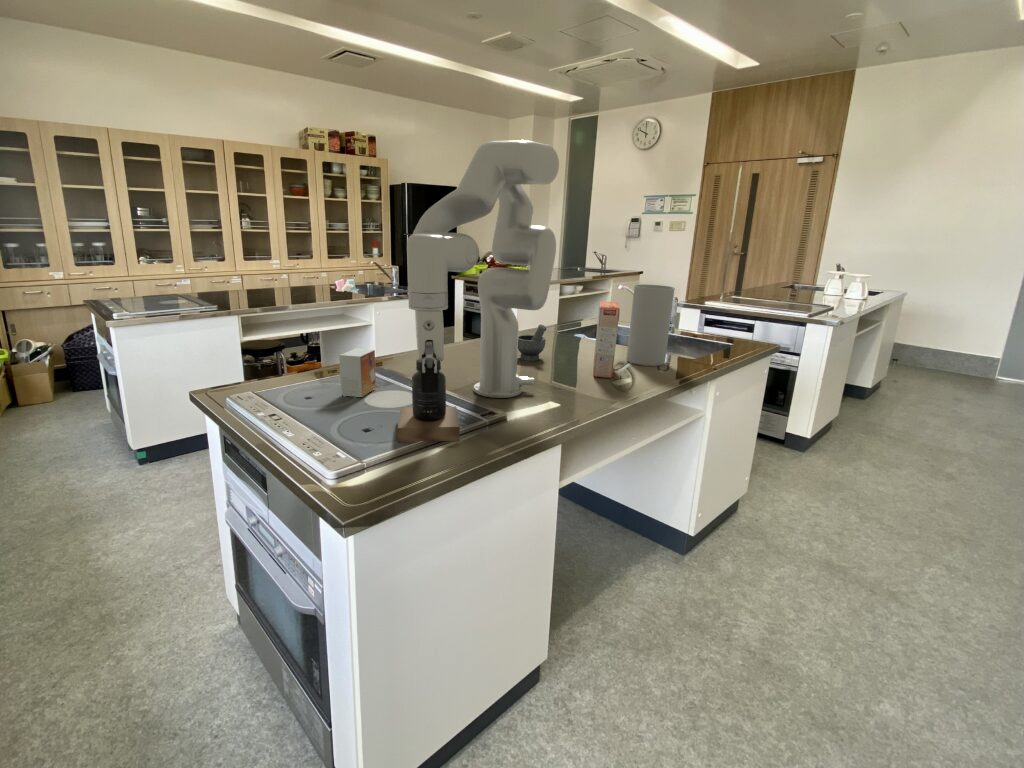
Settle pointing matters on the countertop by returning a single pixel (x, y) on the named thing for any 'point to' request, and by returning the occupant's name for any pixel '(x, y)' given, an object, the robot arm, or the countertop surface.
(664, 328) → the cylinder vase
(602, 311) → the cracker box
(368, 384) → the small box
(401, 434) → the walnut base
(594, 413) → the countertop surface
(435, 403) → the supplement bottle
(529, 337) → the mortar and pestle
